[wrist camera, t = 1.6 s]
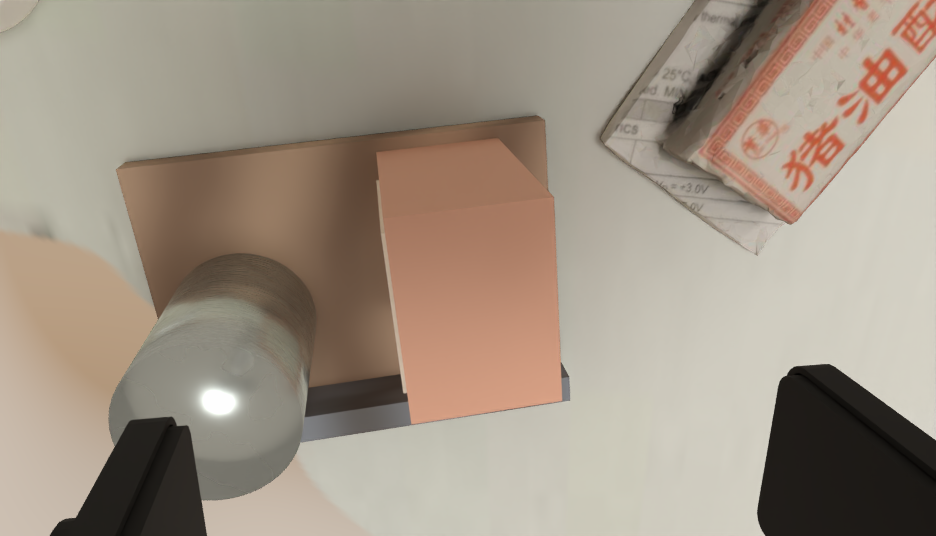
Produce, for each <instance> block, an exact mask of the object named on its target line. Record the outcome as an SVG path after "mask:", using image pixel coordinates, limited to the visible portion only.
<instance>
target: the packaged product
mask: <svg viewBox="0 0 936 536" xmlns="http://www.w3.org/2000/svg"><path fill="white" fill-rule="evenodd" d="M935 57H936V0H695V2H694V3H693V4H692V6H691V7H690V8H689V10H688V11H687V13H686V14H685V16H684V17H683V18H682V20H681V21H680V22H679V24H678V25H677V26H676V28H675V29H674V30H673V32H672V33H671V35H670V36H669V37H668V39H667V40H666V42H665V43H664V45H663V46H662V48H661V49H660V50H659V52H658V53H657V55H656V56H655V58H654V59H653V60H652V62H651V63H650V65H649V66H648V68H647V69H646V70H645V72H644V73H643V75H642V76H641V78H640V79H639V81H638V82H637V83H636V85H635V86H634V88H633V89H632V91H631V92H630V93H629V95H628V96H627V98H626V99H625V101H624V102H623V104H622V105H621V106H620V108H619V109H618V111H617V112H616V114H615V115H614V116H613V118H612V119H611V121H610V122H609V124H608V125H607V127H606V129H605V131H604V132H603V134H602V136H601V137H600V138H601V140H602V141H603V143H604V144H605V145H606V146H607V147H608V148H609V149H610V150H611V151H612V152H613V153H615V154H616V155H617V156H618V157H619V158H620V159H621V160H622V161H623V162H625V163H626V164H628V165H629V166H631V167H632V168H634V169H636V170H637V171H639V172H640V173H642V174H643V175H645V176H646V177H648V178H649V179H651V180H652V181H654V182H655V183H657V184H658V185H660V186H661V187H663V188H664V189H665V190H666V191H667V192H668V193H670V194H671V195H672V196H673V197H674V198H675V199H676V200H678V201H679V202H680V203H681V204H682V205H684V206H685V207H686V208H688V209H689V210H690V211H692V212H693V213H694V214H696V215H697V216H698V217H700V218H701V219H702V220H704V221H705V222H706V223H708V224H709V225H710V226H712V227H713V228H714V229H716V230H717V231H719V232H721V233H722V234H724V235H725V236H727V237H729V238H730V239H732V240H733V241H735V242H737V243H738V244H740V245H742V246H743V247H745V248H746V249H748V250H749V251H751V252H752V253H754V254H756V255H757V256H758V254H759V253H760V251H761V250H762V248H763V247H764V246H765V244H766V243H767V242H768V240H769V239H770V238H771V237H772V235H773V234H774V233H775V232H776V230H777V229H778V228H779V227H781V226H782V225H784V224H785V223H787V224H790V225H791V224H793V223H794V222H796V221H797V220H798V219H799V218H800V216H801V215H802V214H803V212H804V211H805V210H806V209H807V208H808V207H809V206H810V205H811V204H812V203H813V202H814V200H815V199H816V198H817V197H818V196H819V195H820V194H821V193H822V192H823V190H824V189H825V188H826V187H827V186H828V184H829V183H830V182H831V181H832V180H833V179H834V177H835V176H836V175H837V174H838V173H839V171H840V170H841V169H842V168H843V166H844V165H845V164H846V163H847V161H848V160H849V159H850V158H851V157H852V156H853V155H854V154H855V153H856V152H857V151H858V149H859V148H860V147H861V146H862V145H863V143H864V142H865V141H866V140H867V138H868V137H869V136H870V135H871V133H872V132H873V131H874V130H875V128H876V127H877V126H878V125H879V123H880V122H881V121H882V120H883V119H884V118H885V116H886V115H887V114H888V113H889V112H890V111H891V109H892V108H893V107H894V106H895V105H896V104H897V102H898V101H899V100H900V99H901V98H902V96H903V95H904V94H905V93H906V91H907V90H908V89H909V88H910V87H911V86H912V84H913V83H914V82H915V81H916V80H917V79H918V77H919V76H920V75H921V74H922V73H923V71H924V70H925V69H926V68H927V67H928V66H929V64H930V63H931V62H932V61H933V60H934V58H935Z"/></svg>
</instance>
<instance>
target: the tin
mask: <svg viewBox="0 0 936 536" xmlns="http://www.w3.org/2000/svg"><path fill="white" fill-rule="evenodd" d="M316 324H317V315H316V308H315V304H314V301H313V298H312V296H311V294H310V292H309V290H308V288H307V287H306V285H305V284H304V283H303V281H302V280H301V279H300V278H299V277H298V276H297V275H296V274H295V273H294V272H293V271H291V270H290V269H289V268H287V267H286V266H284V265H282V264H281V263H279V262H277V261H275V260H272V259H270V258H267V257H264V256H260V255H255V254H245V253H236V254H227V255H222V256H218V257H215V258H212V259H210V260H208V261H206V262H204V263H202V264H200V265H199V266H197V267H196V268H194V269H193V270H192V271H191V272H190V273H189V274H188V275H187V276H186V277H185V278H184V279H183V281H182V282H181V284H180V285H179V287H178V288H177V290H176V292H175V293H174V295H173V297H172V298H171V300H170V301H169V303H168V305H167V306H166V308H165V310H164V311H163V313H162V314H161V316H160V318H159V319H158V321H157V323H156V324H155V326H154V327H153V329H152V331H151V332H150V334H149V336H148V337H147V339H146V340H145V342H144V344H143V345H142V347H141V349H140V350H139V352H138V353H137V355H136V357H135V358H134V360H133V361H132V363H131V365H130V366H129V368H128V370H127V371H126V373H125V374H124V376H123V378H122V380H121V381H120V383H119V384H118V386H117V388H116V390H115V392H114V394H113V397H112V400H111V404H110V408H109V430H110V434H111V438H112V441H113V443H114V446H116V444H117V442H118V440H119V438H120V436H121V435H122V433H123V431H124V429H125V427H126V425H127V424H128V422H129V421H130V420H134V419H147V418H159V417H173V418H174V419H175V421H176V424H177V426H184V425H187V426H188V427H189V429H190V432H191V438H192V444H193V450H194V457H195V463H196V470H197V476H198V482H199V489H200V495H201V500H223V499H230V498H235V497H239V496H242V495H245V494H248V493H251V492H253V491H256V490H258V489H260V488H262V487H263V486H265V485H267V484H268V483H270V482H271V481H273V480H274V479H275V478H276V477H278V476H279V475H280V474H281V473H282V472H283V471H284V470H285V469H286V468H287V466H288V465H289V464H290V462H291V461H292V460H293V458H294V456H295V454H296V452H297V450H298V447H299V444H300V442H301V437H302V432H303V424H304V417H305V409H306V401H307V394H308V386H309V378H310V371H311V363H312V356H313V348H314V340H315V333H316Z"/></svg>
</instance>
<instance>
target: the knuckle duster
mask: <svg viewBox="0 0 936 536" xmlns="http://www.w3.org/2000/svg"><path fill="white" fill-rule="evenodd" d="M38 1H39V0H0V33H1V32H4V31H6V30H8V29H10V28H12V27H14V26H15V25H17V24H18V23H20V22H21V21H22V20H23V19H25V18H26V17H27V16H28V15H29V14H30V12H31V11H32V10H33V9H34V7H35V6H36V4H37V3H38Z"/></svg>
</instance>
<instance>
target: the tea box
mask: <svg viewBox="0 0 936 536" xmlns="http://www.w3.org/2000/svg"><path fill="white" fill-rule="evenodd" d="M376 155H377V165H378V175H379V180H376V183H377V195H378V206H379V218H380V230H381V238H382V245H383V252H384V259H385V267H386V274H387V281H388V288H389V295H390V302H391V309H392V316H393V323H394V330H395V337H396V344H397V351H398V359H399V366H400V373H401V380H402V387H403V393H407V396H408V403H409V410H410V417H411V424H418V423H424V422H431V421H437V420H444V419H450V418H456V417H463V416H469V415H476V414H482V413H488V412H495V411H501V410H508V409H514V408H520V407H527V406H533V405H540V404H546V403H553V402H559V401H562V383H561V359H560V335H559V311H558V287H557V263H556V238H555V214H554V197H553V196H552V195H551V194H550V193H549V191H548V190H547V189H546V188H545V187H544V186H543V185H542V184H541V183H540V182H539V181H538V180H537V179H536V178H535V177H534V176H533V175H532V173H531V172H530V171H529V170H528V169H527V168H526V167H525V166H524V165H523V164H522V163H521V162H520V161H519V160H518V159H517V158H516V157H515V156H514V154H513V153H512V152H511V151H510V150H509V149H508V148H507V147H506V146H505V145H504V144H503V143H502V142H501V141H500V140H499V139H498V138H493V139H485V140H476V141H468V142H459V143H450V144H442V145H433V146H425V147H416V148H407V149H399V150H390V151H382V152H376Z"/></svg>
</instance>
